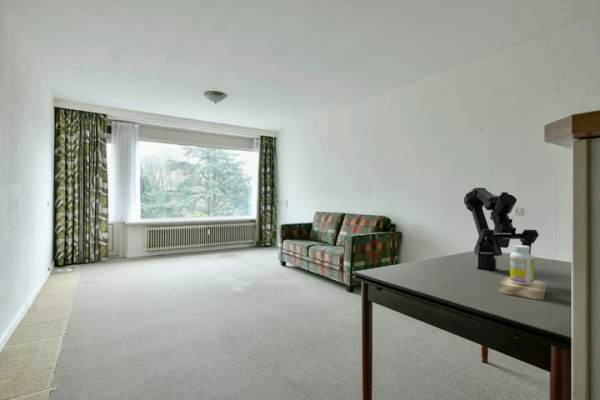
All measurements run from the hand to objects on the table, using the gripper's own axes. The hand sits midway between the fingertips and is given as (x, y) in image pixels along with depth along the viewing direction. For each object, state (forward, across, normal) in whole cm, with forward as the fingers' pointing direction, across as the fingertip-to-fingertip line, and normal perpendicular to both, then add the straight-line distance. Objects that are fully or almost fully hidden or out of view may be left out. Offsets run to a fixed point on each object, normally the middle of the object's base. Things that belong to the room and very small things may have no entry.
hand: (515, 255), depth 115 cm
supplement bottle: (+10, 0, -2) cm, 10 cm away
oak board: (+12, 0, -4) cm, 13 cm away
